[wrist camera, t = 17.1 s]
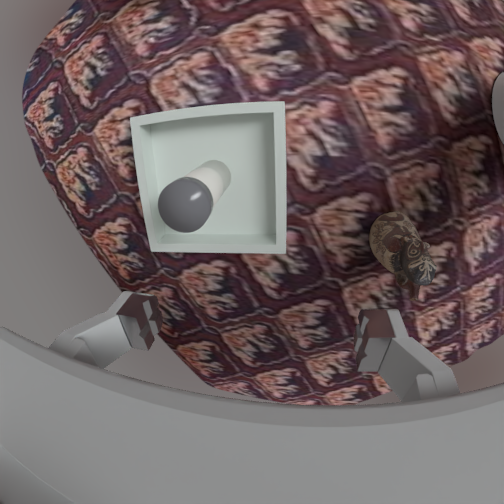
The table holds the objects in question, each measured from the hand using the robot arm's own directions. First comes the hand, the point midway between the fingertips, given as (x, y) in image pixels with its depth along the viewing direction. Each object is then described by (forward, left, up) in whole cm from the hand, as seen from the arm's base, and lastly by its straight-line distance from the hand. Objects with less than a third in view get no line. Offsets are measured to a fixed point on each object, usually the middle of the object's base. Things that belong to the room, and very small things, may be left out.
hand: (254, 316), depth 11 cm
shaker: (+8, 0, -25) cm, 27 cm away
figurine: (-16, +8, -27) cm, 32 cm away
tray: (+8, 0, -26) cm, 28 cm away
